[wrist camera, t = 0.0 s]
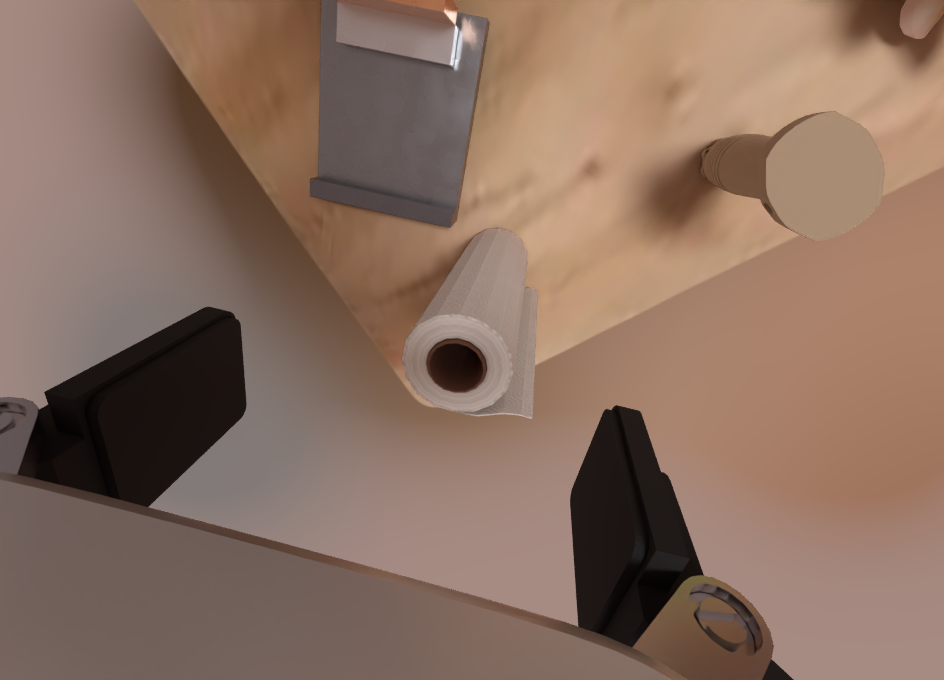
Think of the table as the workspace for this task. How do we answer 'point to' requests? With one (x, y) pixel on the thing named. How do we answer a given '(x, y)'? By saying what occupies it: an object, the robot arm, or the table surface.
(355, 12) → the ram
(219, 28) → the table surface
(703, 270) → the table surface
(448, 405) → the paper towel roll
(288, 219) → the table surface
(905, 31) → the decorative flower
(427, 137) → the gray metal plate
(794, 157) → the handle
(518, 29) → the table surface
